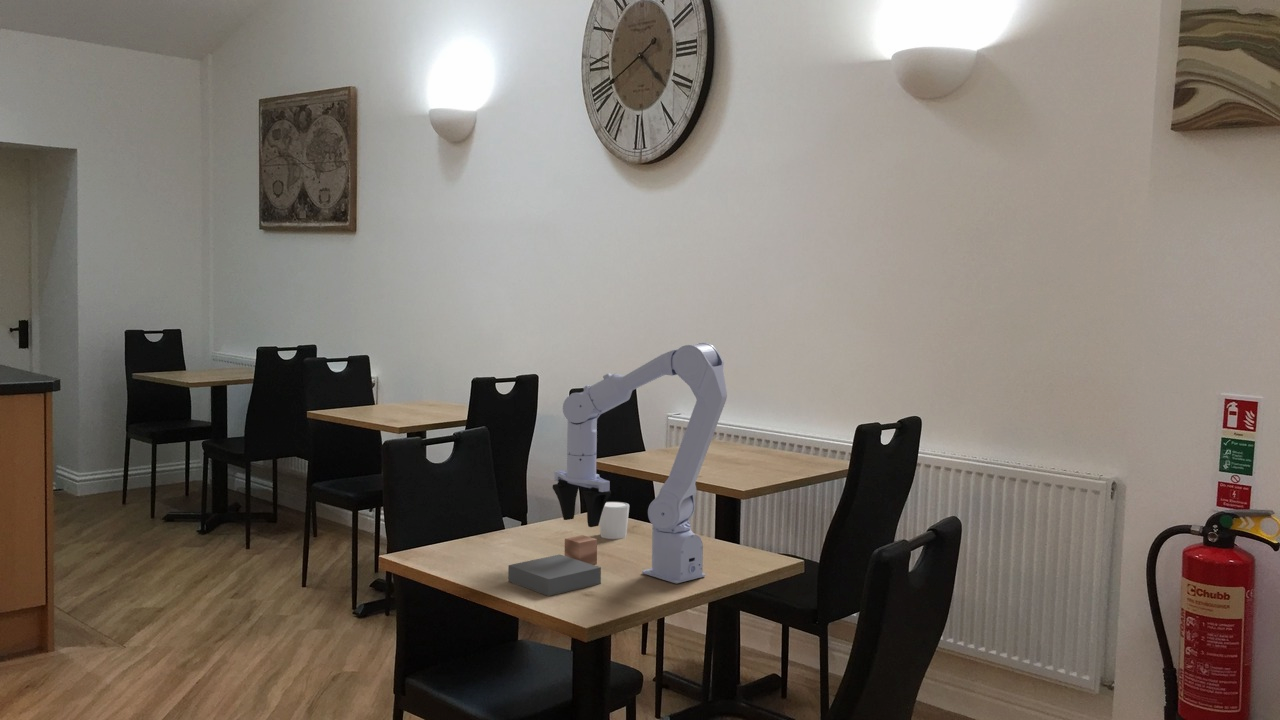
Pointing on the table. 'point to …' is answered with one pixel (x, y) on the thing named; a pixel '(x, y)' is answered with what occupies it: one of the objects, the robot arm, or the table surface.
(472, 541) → the table surface
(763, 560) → the table surface
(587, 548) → the terracotta cube
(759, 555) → the table surface
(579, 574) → the charcoal plinth
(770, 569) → the table surface
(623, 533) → the white tapered cylinder
